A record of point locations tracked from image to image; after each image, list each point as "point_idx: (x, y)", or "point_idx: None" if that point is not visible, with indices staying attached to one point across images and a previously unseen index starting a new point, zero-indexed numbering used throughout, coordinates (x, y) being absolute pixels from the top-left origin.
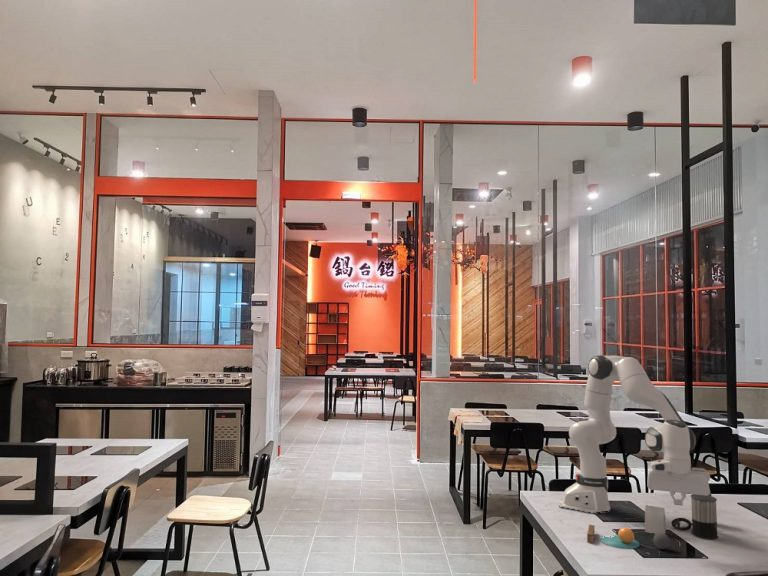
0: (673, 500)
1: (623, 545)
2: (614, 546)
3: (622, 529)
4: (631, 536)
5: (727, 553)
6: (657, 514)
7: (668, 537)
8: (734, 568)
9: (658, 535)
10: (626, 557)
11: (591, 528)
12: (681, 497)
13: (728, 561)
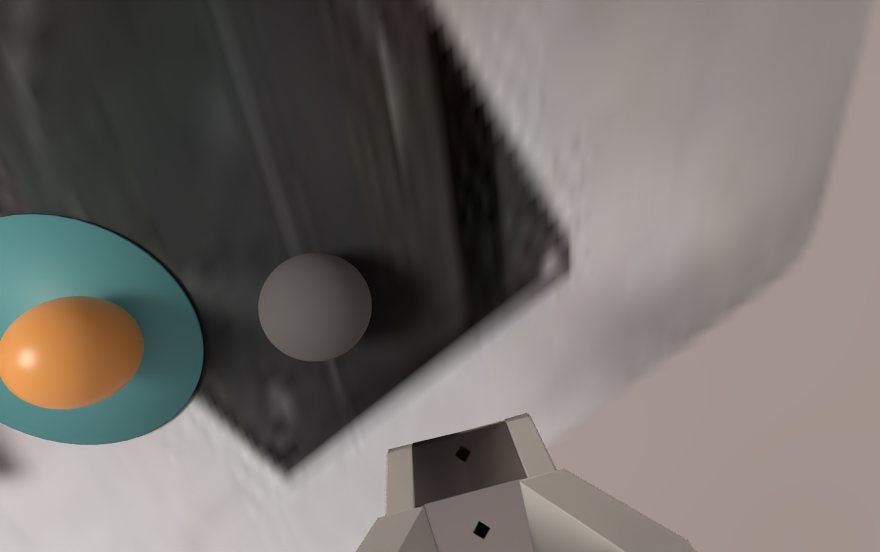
0: (386, 485)
1: (127, 393)
2: (98, 442)
3: (28, 402)
4: (127, 380)
5: (680, 92)
6: None
7: (357, 306)
8: (686, 332)
9: (295, 352)
10: (223, 526)
11: None
12: (559, 513)
13: (670, 246)
